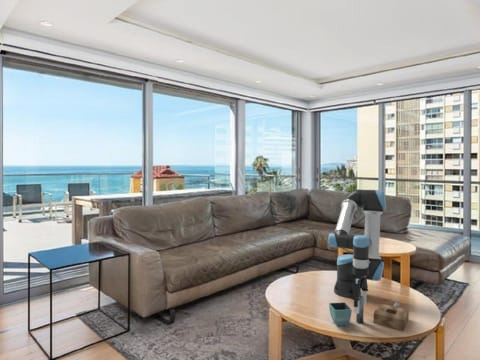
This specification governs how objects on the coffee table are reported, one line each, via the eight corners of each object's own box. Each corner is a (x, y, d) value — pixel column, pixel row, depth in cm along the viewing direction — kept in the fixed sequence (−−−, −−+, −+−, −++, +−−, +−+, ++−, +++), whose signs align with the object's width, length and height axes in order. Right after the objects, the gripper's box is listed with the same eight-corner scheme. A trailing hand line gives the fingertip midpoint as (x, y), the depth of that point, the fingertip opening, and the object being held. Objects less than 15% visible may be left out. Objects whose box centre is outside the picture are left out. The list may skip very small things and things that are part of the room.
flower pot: (328, 319, 172) (328, 302, 171) (344, 318, 172) (345, 302, 172) (334, 328, 163) (334, 310, 162) (351, 327, 164) (352, 309, 163)
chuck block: (373, 322, 168) (373, 313, 168) (384, 304, 189) (384, 295, 189) (404, 330, 160) (404, 320, 160) (411, 310, 181) (411, 301, 181)
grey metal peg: (355, 322, 168) (355, 297, 168) (357, 319, 171) (357, 295, 170) (362, 324, 167) (362, 299, 166) (364, 321, 169) (364, 296, 169)
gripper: (361, 274, 155) (361, 319, 156) (374, 261, 175) (373, 301, 176) (345, 271, 159) (345, 315, 160) (359, 259, 180) (359, 298, 180)
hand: (359, 308), depth 168 cm, fingers open, 13 cm apart
